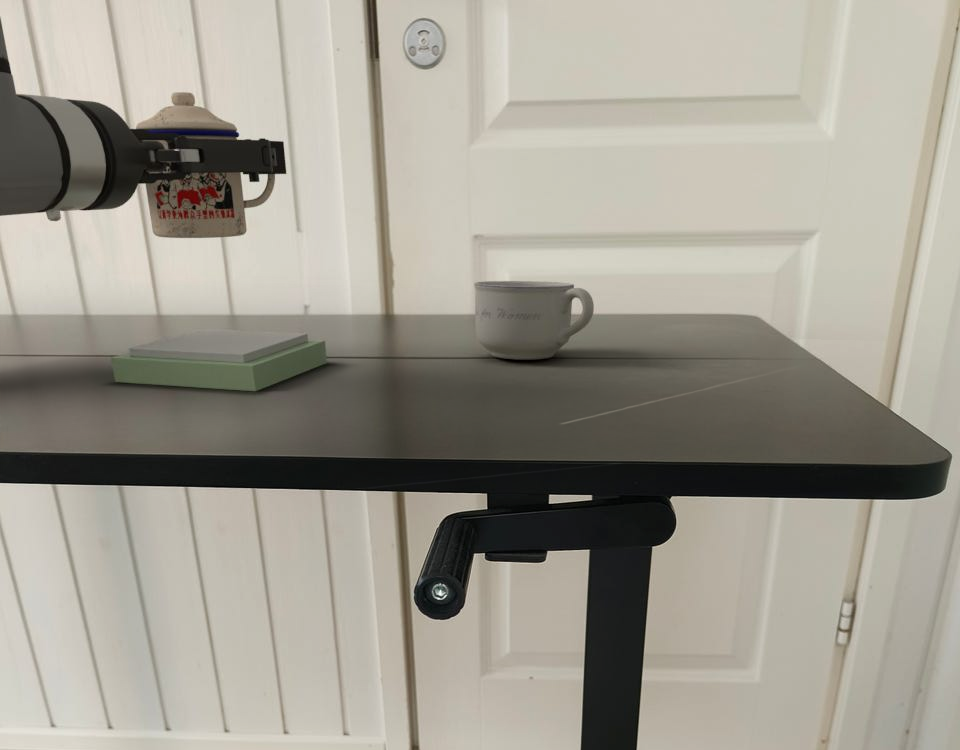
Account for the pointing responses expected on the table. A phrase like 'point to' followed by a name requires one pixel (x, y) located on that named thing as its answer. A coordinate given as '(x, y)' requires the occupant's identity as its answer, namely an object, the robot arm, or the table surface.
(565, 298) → the teacup
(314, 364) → the scale
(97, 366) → the table surface
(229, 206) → the teacup with lid
